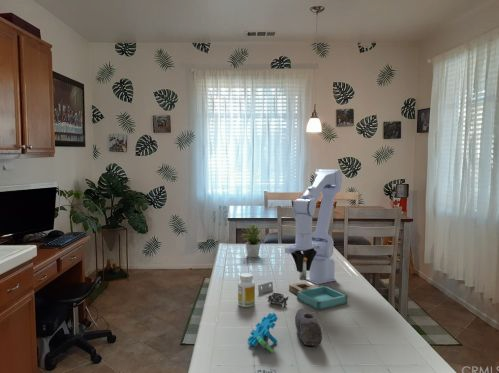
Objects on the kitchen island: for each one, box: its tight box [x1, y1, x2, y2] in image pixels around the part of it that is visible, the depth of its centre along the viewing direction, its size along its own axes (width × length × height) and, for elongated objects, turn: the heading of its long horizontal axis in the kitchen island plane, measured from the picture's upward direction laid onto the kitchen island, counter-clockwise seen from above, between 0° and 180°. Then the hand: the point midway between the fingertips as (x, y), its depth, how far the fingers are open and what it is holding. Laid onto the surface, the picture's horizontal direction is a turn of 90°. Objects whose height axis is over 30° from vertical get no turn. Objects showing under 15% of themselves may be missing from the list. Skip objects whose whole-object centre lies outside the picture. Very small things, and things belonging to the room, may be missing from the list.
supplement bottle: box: [237, 272, 256, 308], centre depth 121 cm, size 5×5×10 cm
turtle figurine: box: [267, 292, 288, 309], centre depth 118 cm, size 15×7×4 cm, turn 66°
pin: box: [299, 256, 308, 281], centre depth 132 cm, size 3×3×8 cm
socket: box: [288, 281, 317, 295], centre depth 132 cm, size 7×7×2 cm
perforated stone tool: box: [294, 307, 323, 347], centre depth 99 cm, size 15×5×7 cm, turn 5°
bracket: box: [257, 281, 289, 299], centre depth 128 cm, size 7×10×3 cm, turn 39°
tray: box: [296, 285, 348, 312], centre depth 124 cm, size 12×11×2 cm
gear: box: [247, 312, 278, 353], centre depth 95 cm, size 11×6×10 cm
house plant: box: [240, 222, 263, 258], centre depth 181 cm, size 14×14×16 cm
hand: (303, 270), depth 132 cm, fingers closed on pin, 3 cm apart
